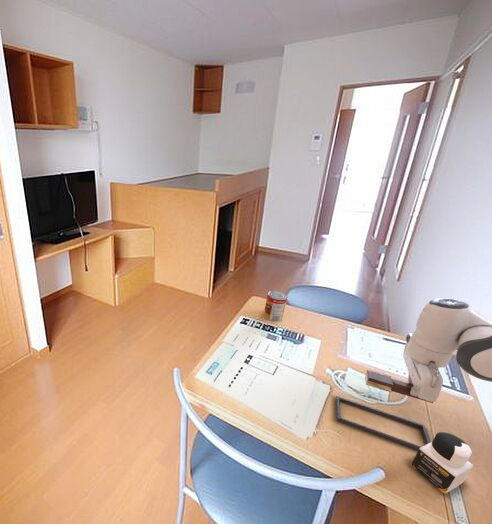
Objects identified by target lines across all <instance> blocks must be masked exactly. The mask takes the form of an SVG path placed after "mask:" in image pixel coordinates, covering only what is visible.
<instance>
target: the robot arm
mask: <svg viewBox="0 0 492 524" xmlns="http://www.w3.org/2000/svg"><path fill="white" fill-rule="evenodd" d="M415 326H416V329H415V330H414V331H413V333H412V332H408V333H407V334H406V336H405V340H406V341H405V345H404V348H403V351H402V352H403V354H402V357H403V360H404V364H405V366H406V368H407V371H408V376H407V381H406V383H409V384H412V385H413V387H411V388H410V390H409V391H410V394H411V395H413V396H416V397H417V396H418V398H420V399H423V400H426V401H425V402H427V401H430V402H433V403H436V402H437V401H438V399H439V396H440V394H441V392H442V391H441V390H442V388H443V383H444V379H443V375H442V374H441V371H440V370H439V369H440V368H446V367H447V366H448V365H449V363H450V360H451V359H452V356H453V355H454V353H455V351H456V354H455V359H456V362H457V364H458V366H459V367H460V368H461V369H462V370H463V371H464V372H465V373H467V374H468V375H470V376H471V377H474V378H476V379H479V380H481V381H485V382H491V383H492V319H490V318H488V317H486V316H484V315H482V314H481V313H480V312H477V311H476V310H475V309H474V308H473V307H471V306H470V305H469V303H467V302H465V301H462V300H459V299H455V298H449V297H441V298H439V297H438V298H433V299H431V300H429V301H428V302H427V303H426V304H425V305H424V307H423V308H422V310H421V313H420V314H419V317H418V318H417V321H416V324H415ZM420 399H419V400H420ZM423 400H422V401H423ZM430 402H429V403H430Z"/></svg>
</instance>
